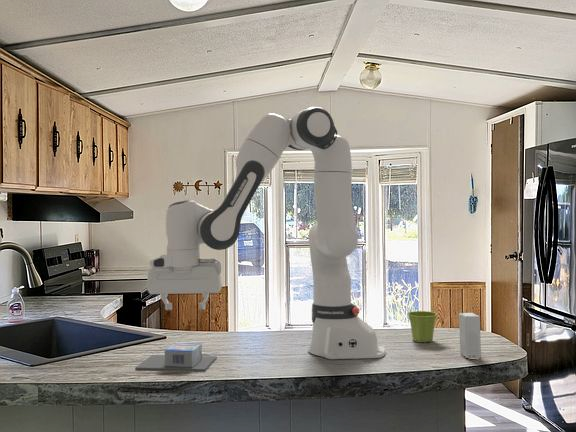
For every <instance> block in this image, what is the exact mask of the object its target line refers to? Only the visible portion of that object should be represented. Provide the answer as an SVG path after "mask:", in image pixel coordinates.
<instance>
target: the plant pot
mask: <svg viewBox="0 0 576 432" xmlns="http://www.w3.org/2000/svg"><path fill="white" fill-rule="evenodd" d="M406 315H407V316H408V319H409V324H410V329H411V337H412V341H415V342H416V343H422V342H424V343H427V342H428V343H431V342H433V338H434V332H435V331H434V330H435V323H436V320H437V316H438V313H437V312H435V311H434V312H433V311H426V310H418V311H417V310H415V311H409V312H407V314H406Z"/></svg>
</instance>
